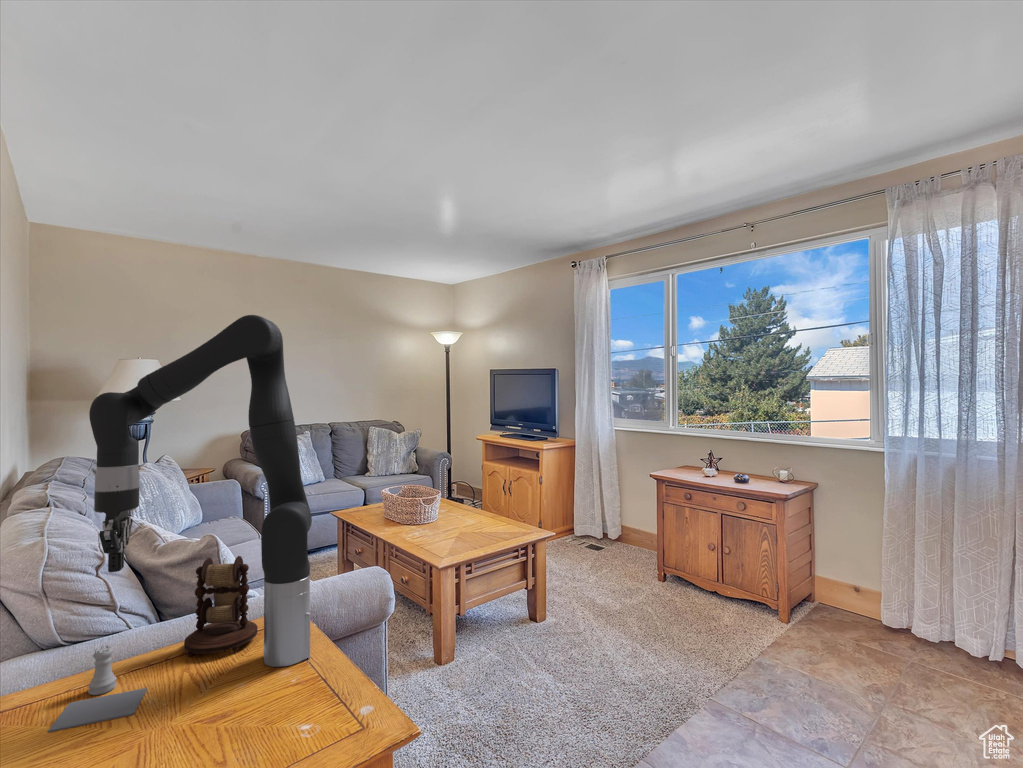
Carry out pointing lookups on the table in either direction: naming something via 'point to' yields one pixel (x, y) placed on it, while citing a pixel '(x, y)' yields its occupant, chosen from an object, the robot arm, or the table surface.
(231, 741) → the table surface
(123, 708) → the felt mat
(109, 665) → the rook chess piece
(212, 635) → the wooden spool holder
